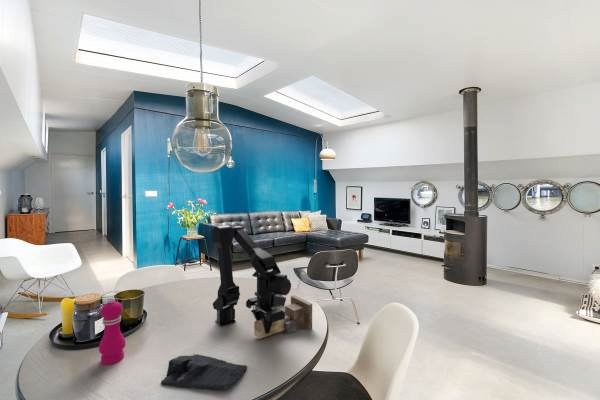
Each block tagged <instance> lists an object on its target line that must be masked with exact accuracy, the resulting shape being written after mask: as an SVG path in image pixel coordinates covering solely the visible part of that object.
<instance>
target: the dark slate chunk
mask: <svg viewBox="0 0 600 400" xmlns="http://www.w3.org/2000/svg"><path fill="white" fill-rule="evenodd" d="M247 368H248V366H247V365H246V364H244V365H243V364H237V363H233V362H228V361H225V360H223V359H219V358H216V357H212V356H208V355H202V354H192V355H179V356H177V357H175V358H172V359H170V360H169V361H168V367H167V372H166V376H165V377H164V378H163V379H161V381H160V383H161V384H162V385H166V386H167V385H171V386H175V387H183V388H197V389H198V388H199V389H200V388H202V389H203V390H204V389H207V390H208V389H210V390H220V389H221V390H224V389H225V390H226V389H229V388H230V387H231V386H232V385H233V384H235V382H236V381H237V380H239V379H240V377H242V376H243V375H244V373H245V372H246V371H247ZM185 373H186V374H185ZM184 374H185V375H184ZM183 375H184V376H183ZM182 376H183V378H182V379H180V378H181V377H182Z"/></svg>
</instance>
